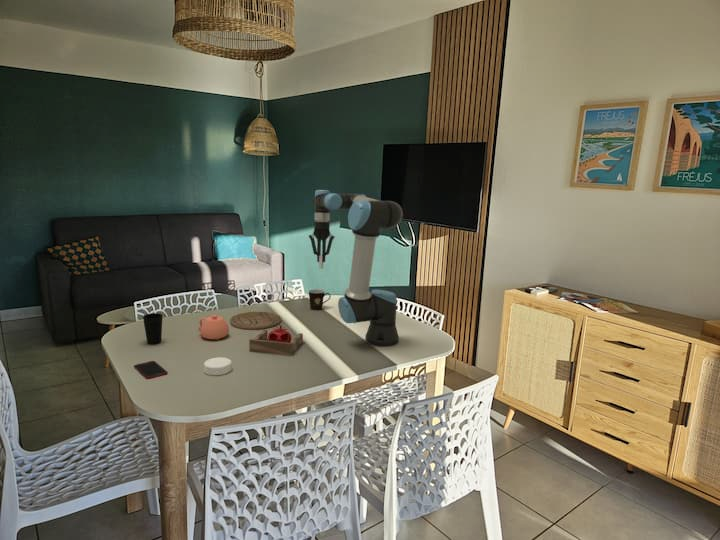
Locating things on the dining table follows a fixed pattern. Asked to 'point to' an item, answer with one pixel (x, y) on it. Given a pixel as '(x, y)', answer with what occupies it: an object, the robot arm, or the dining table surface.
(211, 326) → the sugar bowl
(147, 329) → the cup
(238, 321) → the trivet
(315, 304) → the coffee mug
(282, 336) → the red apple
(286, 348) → the walnut pocket
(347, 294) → the robot arm
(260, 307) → the dining table surface
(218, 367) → the white round disc
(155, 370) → the cell phone
